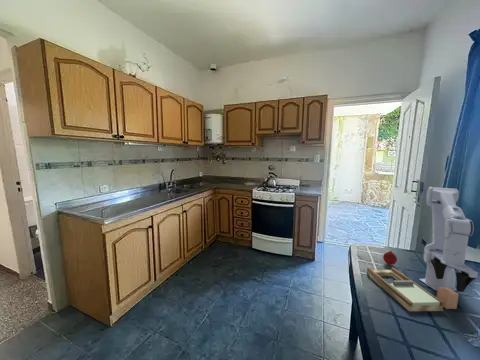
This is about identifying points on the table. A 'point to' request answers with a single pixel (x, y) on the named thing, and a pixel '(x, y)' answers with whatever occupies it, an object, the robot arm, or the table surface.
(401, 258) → the table surface
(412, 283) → the lid
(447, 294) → the block
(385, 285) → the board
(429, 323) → the table surface
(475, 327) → the table surface
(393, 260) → the onion
